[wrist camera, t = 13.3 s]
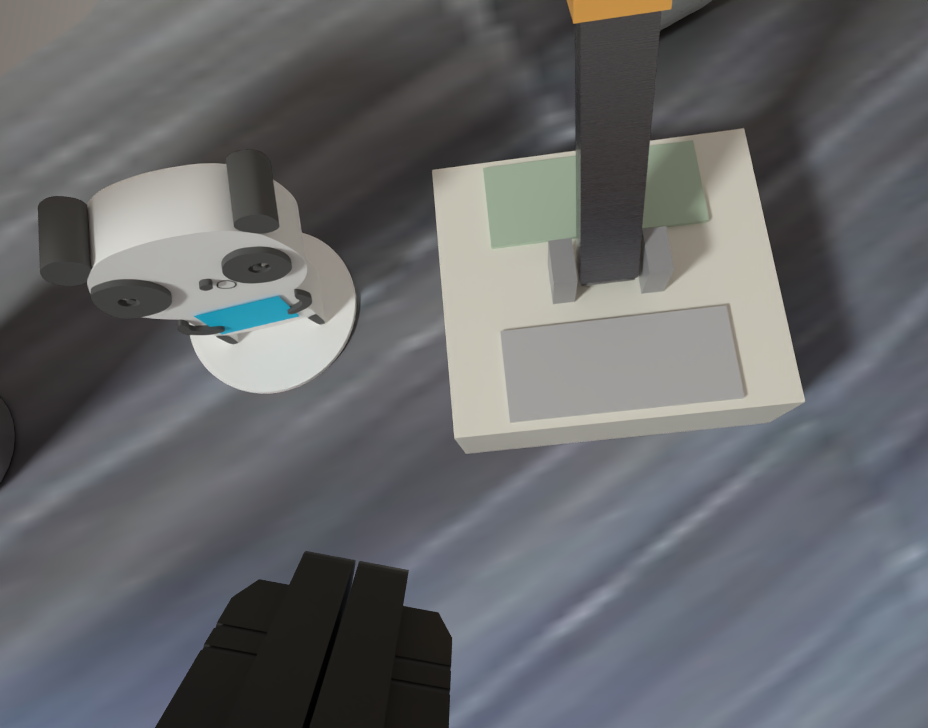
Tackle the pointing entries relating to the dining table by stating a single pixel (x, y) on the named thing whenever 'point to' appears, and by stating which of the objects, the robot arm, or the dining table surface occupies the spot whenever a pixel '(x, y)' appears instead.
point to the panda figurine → (209, 267)
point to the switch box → (611, 303)
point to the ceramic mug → (680, 11)
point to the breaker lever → (613, 131)
